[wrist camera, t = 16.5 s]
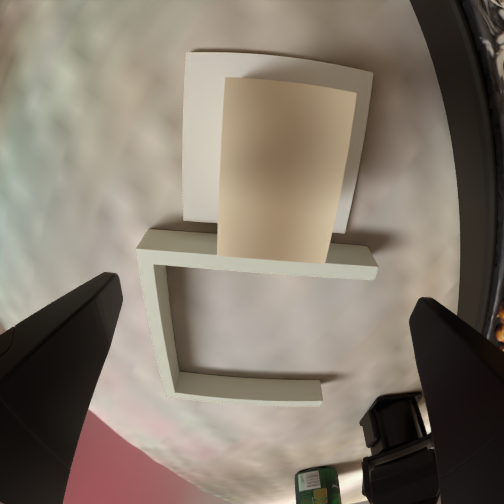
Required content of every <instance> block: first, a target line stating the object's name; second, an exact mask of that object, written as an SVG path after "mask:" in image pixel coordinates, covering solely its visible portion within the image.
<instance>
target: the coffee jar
mask: <svg viewBox="0 0 504 504" xmlns="http://www.w3.org/2000/svg"><path fill="white" fill-rule="evenodd" d="M295 492H296V504H341V497H340V488H339V480H338V474H337V472H336V471H335V470H334V469H333V468H312V469H307V470H306V471H303V472H300V473H297V474H296V475H295Z"/></svg>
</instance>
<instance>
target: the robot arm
mask: <svg viewBox="0 0 504 504" xmlns="http://www.w3.org/2000/svg"><path fill="white" fill-rule="evenodd" d="M122 302H123V295H122V290H121V285H120V280H119V276H118V275H117V274H116V273H110V272H104V273H102V274H100V275H98V276H96V277H95V278H93V279H91V280H90V281H88V282H86V283H84V284H83V285H81V286H79V287H77V288H76V289H74V290H72V291H71V292H69V293H67V294H66V295H64V296H62V297H60V298H59V299H57V300H55V301H54V302H52V303H50V304H49V305H47V306H46V307H44V308H42V309H41V310H39V311H37V312H36V313H34V314H33V315H31V316H29V317H28V318H26V319H25V320H23V321H21V322H20V323H18V324H17V325H15V327H12V328H10V329H9V330H7V331H6V332H4V333H3V334H1V335H0V504H63V499H64V495H65V490H66V486H67V482H68V478H69V473H70V470H71V469H70V468H71V465H72V462H73V458H74V454H75V451H76V447H77V444H78V440H79V437H80V433H81V430H82V427H83V423H84V420H85V417H86V414H87V411H88V408H89V405H90V402H91V399H92V396H93V393H94V390H95V387H96V384H97V381H98V379H99V376H100V373H101V370H102V368H103V365H104V362H105V360H106V357H107V354H108V351H109V349H110V346H111V342H112V339H113V335H114V331H115V328H116V324H117V320H118V317H119V313H120V310H121V306H122ZM409 326H410V331H411V336H412V342H413V347H414V353H415V359H416V365H417V369H418V373H419V377H420V381H421V385H422V389H423V394H424V398H425V402H426V407H427V412H428V417H429V422H430V427H431V433H430V434H428V435H427V432H426V429H425V425H424V422H423V419H422V416H421V413H420V410H419V407H418V404H417V403H418V402H419V400H420V399H421V398H422V397H423V394H422V393H413V394H405V395H397V396H388V397H380V398H377V399H376V400H375V402H374V403H373V404H372V406H371V407H370V409H369V410H368V411H367V413H366V414H365V415H364V417H363V418H362V419H361V421H360V422H359V423H360V426H363V431H364V436H365V441H366V446H367V447H368V448H371V453H372V456H370V457H365V458H363V462H362V463H361V464H362V470H363V485H362V494H363V495H364V496H366V497H367V499H368V501H369V503H370V504H504V352H503V351H502V350H501V349H500V348H498V347H497V346H496V345H495V344H493V343H492V342H491V341H490V340H488V339H487V338H486V337H484V336H483V335H482V334H481V333H479V332H478V331H477V330H475V329H474V328H473V327H471V326H470V325H469V324H467V323H466V322H465V321H463V320H462V319H461V318H459V317H458V316H457V315H455V314H454V313H452V312H451V311H450V310H448V309H447V308H446V307H444V306H443V305H441V304H440V303H439V302H437V301H436V300H434V299H433V298H431V297H421V298H420V299H419V300H418V301H417V303H416V306H415V308H414V310H413V312H412V314H411V316H410V319H409ZM429 448H430V449H429ZM431 448H433V449H431Z"/></svg>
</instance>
